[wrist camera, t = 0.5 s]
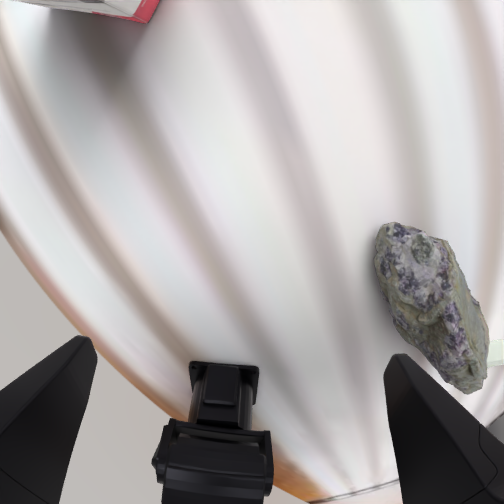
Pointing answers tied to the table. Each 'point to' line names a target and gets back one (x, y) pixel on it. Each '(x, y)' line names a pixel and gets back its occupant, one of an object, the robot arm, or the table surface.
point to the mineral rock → (433, 304)
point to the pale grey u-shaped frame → (496, 353)
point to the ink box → (105, 7)
